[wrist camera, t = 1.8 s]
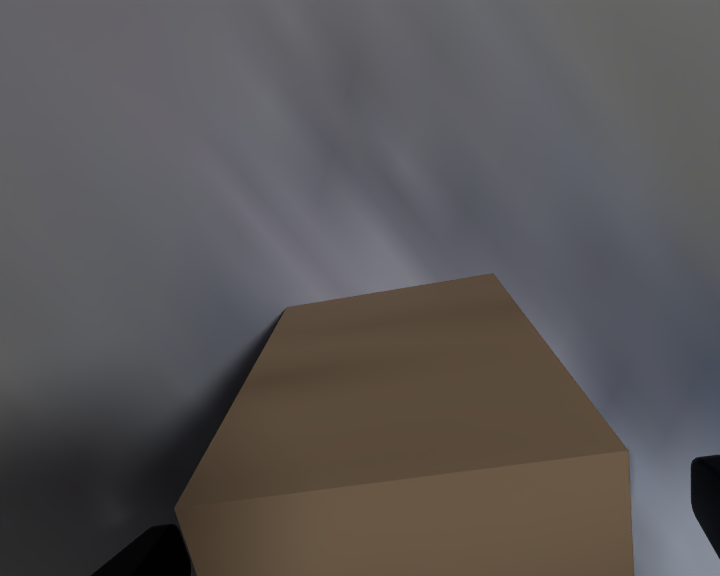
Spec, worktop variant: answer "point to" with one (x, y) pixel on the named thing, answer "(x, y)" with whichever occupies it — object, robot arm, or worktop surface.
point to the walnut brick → (410, 449)
